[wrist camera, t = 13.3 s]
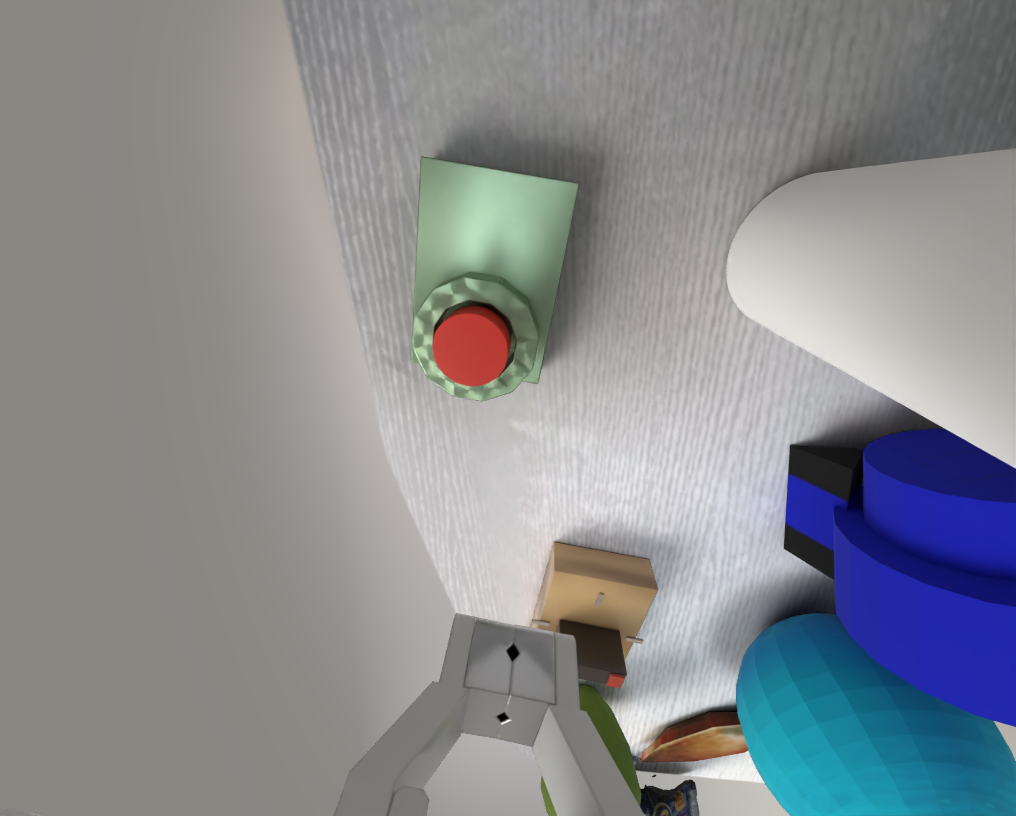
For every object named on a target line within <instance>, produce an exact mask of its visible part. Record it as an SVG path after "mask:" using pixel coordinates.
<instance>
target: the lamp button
mask: <svg viewBox="0 0 1016 816" xmlns="http://www.w3.org/2000/svg"><path fill="white" fill-rule="evenodd" d="M510 347H511V338H510V333H509V330H508V328H507V326H506V324H505V322H504V321H503V320H502V319H501V317H500V316H498V315H497V314H496V313H495V312H493V311H491V310H490V309H487V308H485V307H481V306H465V307H462V308H459V309H457V310H455V311H454V312H452V313H451V314H450V315H449V316H448V317H447V318H446V319H445V320H444V322H443V323H442V324H441V325H440V326H439V327H438V329H437V331H436V333H435V335H434V338H433V344H432V350H433V356H434V359H435V362H436V364H437V365H438V367H439V369H440V370H441V371H442V372H443V374H444V375H445V376H447V377H448V378H449V379H451V380H452V381H454V382H456V383H458V384H461V385H465V386H481V385H484V384H487V383H489V382H491V381H493V380H494V379H496V378H497V377H498V376H499V375H500V374H501V372H502V371H503V369H504V368H505V365H506V363H507V359H508V356H509V352H510Z"/></svg>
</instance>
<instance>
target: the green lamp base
mask: <svg viewBox="0 0 1016 816" xmlns="http://www.w3.org/2000/svg"><path fill="white" fill-rule="evenodd" d="M578 187H579V184H578V183H574V182H568V181H562V180H556V179H551V178H545V177H539V176H533V175H527V174H522V173H516V172H510V171H504V170H498V169H493V168H487V167H481V166H475V165H469V164H464V163H458V162H452V161H446V160H440V159H435V158H429V157H423V156H422V157H421V166H420V186H419V207H418V228H417V249H416V270H415V291H414V312H413V333H412V353H411V361H412V362H417V363H420V364H421V366H422V368H423V370H424V372H425V374H426V376H427V378H429V379H430V380H431V381H433V382H434V383H435V384H437V385H438V386H439V387H441V388H442V389H443V390H445V391H446V392H447V393H449V394H450V395H451V396H455V397H461V398H466V399H472V400H477V401H486V400H489V399H492V398H495V397H498V396H501V395H504V394H508V393H511V392H513V391H514V390H515V389H516V388H517V386H518V385H519V384H520V383H521V382H522V381H523V382H529V383H535V384H538V382H539V377H540V372H541V368H542V363H543V358H544V353H545V348H546V343H547V338H548V333H549V329H550V324H551V319H552V314H553V309H554V304H555V299H556V294H557V289H558V285H559V280H560V275H561V270H562V265H563V260H564V255H565V250H566V246H567V241H568V236H569V231H570V226H571V221H572V216H573V211H574V207H575V202H576V197H577V192H578ZM465 306H481V307H485V308H487V309H490V310H491V311H493V312H495V313H496V314H497V315H498V316H500V317H501V319H502V320H503V321H504V322H505V324H506V326H507V328H508V330H509V333H510V338H511V347H510V352H509V356H508V359H507V363H506V365H505V368H504V369H503V371H502V372H501V374H500V375H499V376H498V377H497V378H496V379H494V380H493V381H491V382H489V383H487V384H484V385H481V386H465V385H461V384H458V383H456V382H454V381H452V380H451V379H449V378H448V377H447V376H445V375H444V374H443V372H442V371H441V370H440V369H439V367H438V365H437V364H436V362H435V359H434V356H433V350H432V344H433V338H434V335H435V333H436V331H437V329H438V327H439V326H440V325H441V324H442V323H443V322H444V320H445V319H446V318H447V317H448V316H449V315H450V314H451V313H452V312H454V311H455V310H457V309H459V308H462V307H465Z"/></svg>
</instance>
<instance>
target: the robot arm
mask: <svg viewBox="0 0 1016 816" xmlns="http://www.w3.org/2000/svg"><path fill="white" fill-rule="evenodd" d="M475 618H476V621H475ZM474 625H475V626H474ZM473 630H474V631H473ZM461 733H466V734H472V735H478V736H485V737H490V738H497V739H501V740H505V741H510V742H514V743H518V744H522V745H527V746H531V747H533V748H532V750H533V753H534V755H535V758H536V761H537V763H538V766H539V768H540V771H541V774H542V777H543V779H544V782H545V785H546V787H547V790H548V793H549V795H550V798H551V801H552V803H553V806H554V808H555V811H556V814H557V816H645V815H644V813H643V812H642V810H641V808H640V806H639V804H638V803H637V801H636V799H635V797H634V796H633V794H632V792H631V790H630V788H629V787H628V785H627V783H626V781H625V780H624V778H623V776H622V774H621V773H620V771H619V769H618V767H617V765H616V764H615V762H614V760H613V758H612V757H611V755H610V753H609V751H608V749H607V748H606V746H605V744H604V742H603V741H602V739H601V737H600V735H599V733H598V732H597V730H596V728H595V726H594V725H593V723H592V721H591V719H590V717H589V716H588V714H587V712H586V711H582V710H580V703H579V686H578V669H577V652H576V640H575V638H574V636H573V635H567V634H561V633H555V632H553V631H548V630H542V629H537V628H531V627H525V626H520V625H511V624H506V623H502V622H497V621H492V620H487V619H482V618H478V617H474V616H469V615H464V614H458V613H456V615H455V618H454V621H453V625H452V629H451V633H450V638H449V642H448V647H447V650H446V655H445V659H444V663H443V667H442V672H441V676H440V680H439V682H432V683H431V684H430V685H429V686H428V687H427V688H426V689H425V690H424V692H423V693H422V694H421V695H420V696H419V697H418V698H417V699H416V700H415V701H414V702H413V703H412V705H411V706H410V707H409V708H408V709H407V710H406V711H405V712H404V713H403V714H402V715H401V716H400V718H399V719H398V720H397V721H396V722H395V723H394V724H393V725H392V726H391V727H390V728H389V729H388V731H387V732H386V733H385V734H384V735H383V736H382V737H381V738H380V739H379V740H378V742H376V744H375V745H374V746H373V747H372V748H371V749H370V750H369V751H368V752H367V753H366V755H364V757H363V758H362V759H361V760H360V761H359V762H358V763H357V764H356V765H355V766H354V767H353V768H352V770H351V771H350V772H349V774H348V778H347V780H346V783H345V786H344V789H343V791H342V794H341V797H340V800H339V802H338V805H337V808H336V811H335V813H334V816H426V815H427V809H428V803H429V798H428V796H427V795H426V793H425V791H424V789H423V788H424V786H425V785H426V783H427V782H428V781H429V779H430V778H431V776H432V775H433V774H434V772H435V771H436V769H437V768H438V767H439V765H440V764H441V762H442V761H443V759H444V758H445V757H446V755H447V754H448V752H449V751H450V750H451V748H452V747H453V745H454V744H455V742H456V741H457V740H458V738H459V737H460V735H461ZM0 816H44V815H40V814H34V813H30V812H25V811H20V810H15V809H10V808H5V807H0Z"/></svg>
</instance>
